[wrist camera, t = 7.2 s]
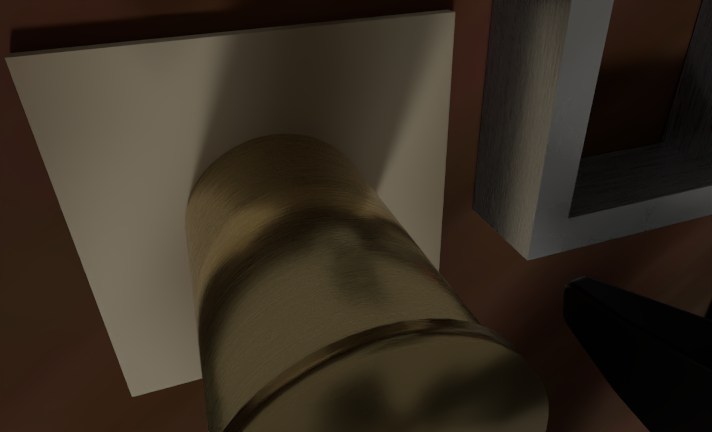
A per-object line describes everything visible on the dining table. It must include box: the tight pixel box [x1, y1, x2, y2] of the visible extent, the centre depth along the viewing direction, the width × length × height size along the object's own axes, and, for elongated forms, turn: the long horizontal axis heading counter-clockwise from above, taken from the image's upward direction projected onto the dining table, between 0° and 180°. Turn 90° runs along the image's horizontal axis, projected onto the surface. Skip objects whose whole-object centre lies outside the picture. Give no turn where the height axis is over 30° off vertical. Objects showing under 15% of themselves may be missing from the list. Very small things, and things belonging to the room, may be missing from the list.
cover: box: [185, 134, 549, 432], centre depth 11 cm, size 5×5×8 cm
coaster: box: [5, 10, 455, 397], centre depth 14 cm, size 10×10×1 cm
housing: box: [473, 0, 712, 260], centre depth 15 cm, size 8×8×3 cm
